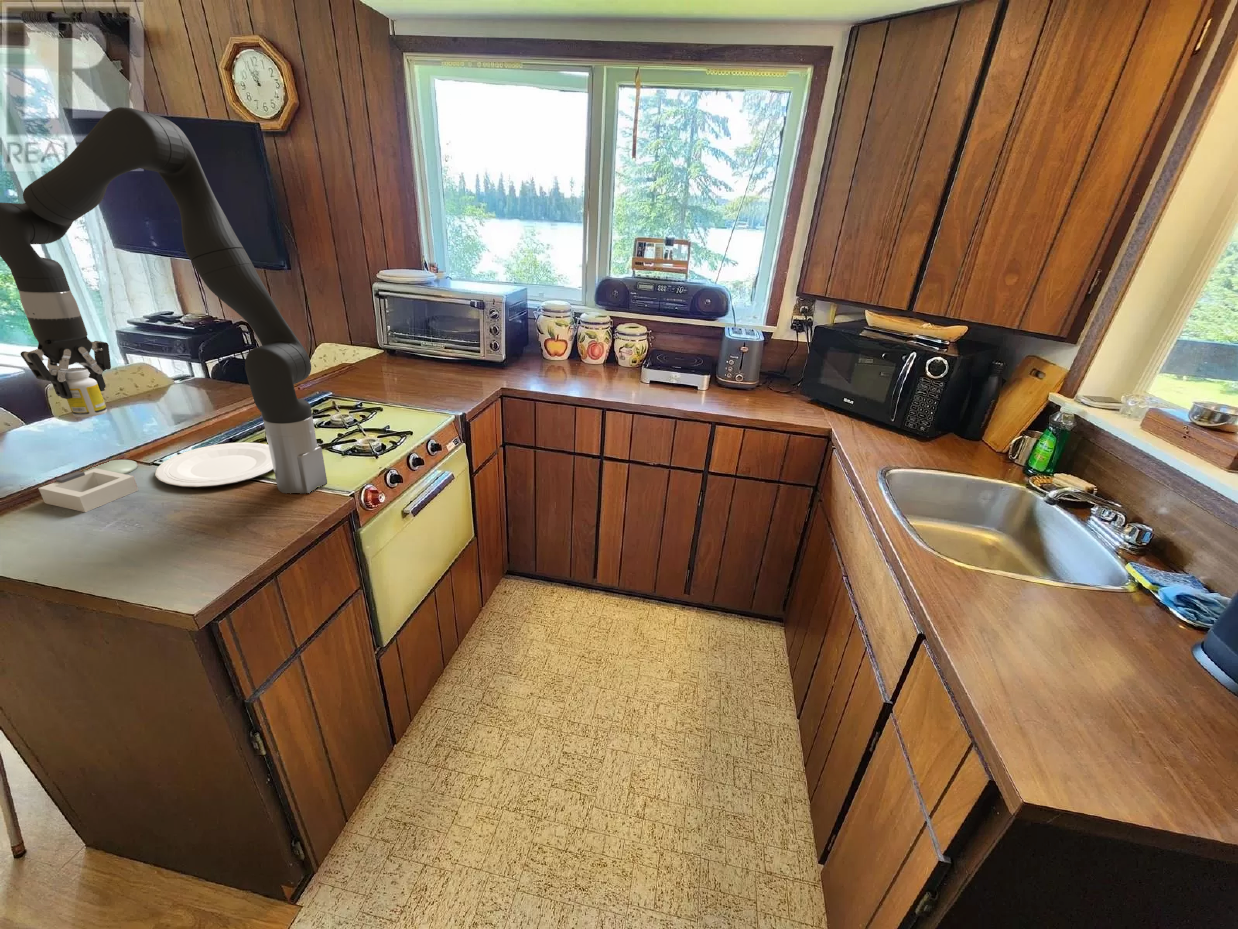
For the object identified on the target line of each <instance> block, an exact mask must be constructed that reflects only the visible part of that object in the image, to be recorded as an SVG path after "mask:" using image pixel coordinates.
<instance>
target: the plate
mask: <svg viewBox="0 0 1238 929" xmlns="http://www.w3.org/2000/svg"><path fill="white" fill-rule="evenodd" d="M271 471H274V469H273V464H272V459H271V455H270V450H269V445H268V444H265V443H260V442H244V441H243V442H227V443H219V444H213V445H207V446H203V447H197V448H195V449H191V450H188V451H185V452H184V451H183V452H182V453H180V454H179V453H178V454H177V455H174V456H172V457H170V458H167V459H166V460H165V461H163V462H162V463H161V464H159V466H157V467H156V469H155V474H154V475H155V477H156V479H157V480H158V481H160V483H161V482H162V483H164V484H166V485H170V486H175V487H181V488H210V487H220V486H227V485H232V484H237V483H241V482H245V481H249V480H252V479H255V478H259V477H261V476H264V475H266V474H268V473H269V472H271Z"/></svg>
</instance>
